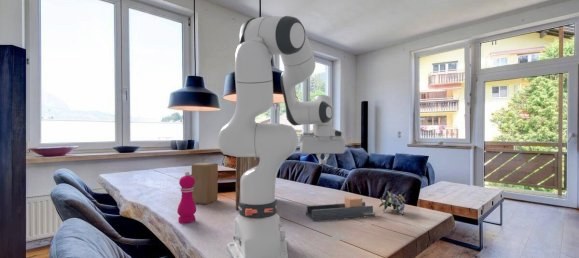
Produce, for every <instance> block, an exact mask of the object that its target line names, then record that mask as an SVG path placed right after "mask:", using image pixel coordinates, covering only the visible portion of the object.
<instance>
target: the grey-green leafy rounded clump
mask: <svg viewBox="0 0 579 258" xmlns="http://www.w3.org/2000/svg"><path fill="white" fill-rule="evenodd" d="M387 194H388V196H386V198H385V201H383V200H382V199H383V198H382V197H380V198H379V200H380V202H381V204H379V206H378V207H379V208H381V207H382V206H383V209H382V210H383V211H384V212H385V210H387V208H388V207H390V208H391V207H392V208H393V209H394V210H396V212H397V213H398V215H399V216H401V214H404V211H405V203H406V202H407V201H406V199H405V198H404V197H403V195H402V194H400V193H399V194H398V195H396V194H394V193H393V192H390V191H388V190H387Z"/></svg>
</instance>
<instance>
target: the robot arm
mask: <svg viewBox="0 0 579 258" xmlns="http://www.w3.org/2000/svg"><path fill="white" fill-rule="evenodd" d="M278 55H279V56H280V58H281V61H282V64H283V67H284V69H283V71H282V72H281V75H280V86H281V91H282V97H283V101H284V105H285V117H286V119H287V121H288V122H289V123H290V124H291V125H288V124H284V123H279V122H273V123H270V122H269V123H267V122H264V123H263V122H261V123H259V122H256V118H257V117H259V116H260V115H263V114H264V113H267V112H268V111H269V110H271V108H272V107H273V105H274V82H273V81H274V80H273V68H272V62H271V61H272V58H273V57H274V56H278ZM234 58H235V61H234V80H235V82H234V83H235V93H236V94H235V95H236V98H235V99H236V100H235V101H236V102H235V103H236V106H235V110H234V113H233V115H232V117H231V119H230V120H229V121H228V122H227V123H226V124H224V125H223V127H222V128H221V129H220V131H219V133H218V135H217V146H218V148H219V150H220V152H221V153H222V154H223V155H227V156H231V157H235V158H236V157H258V158H260V162H259V164H258V165H257V166H256V167H253V168H251V169H249V170H248V171H246V172H245V173H244V174H243V175H242V177H241V180H240V201H239V206H238V208H239V209H238V215H237V216H236V217H235V218H234V220H233V241H230V242H228V243H227V245H226V248H227V249H228V252H229V254H230V255H231V258H289V255H288V247H287V246H288V244H287V238H286V230H281V229H282V228H283V223H282V222H280V217H281V216H280V215H279V214H278V213H277V200H276V198H275V197H276V183H277V182H276V180H277V174H278V173H279V169H280V168H281V166H282V165H283V163H284V162H285V161H286V160H288V158H290V157H291V156H292V155H293V154H294V153H295V151H296V150H297V148H298V145H299V141H300V146H299V152H300V153H301V154H303V155H304V154H305V155H308V154H310V155H313V154H315V155H316V157H317V160H318V164H319V165H326V164H328V163H327V160H328V159H329V157H330V154H332V155H333V154H344V153H346V141H345V138H344V131H342V130H338V129H335V128H334V125H333V117H334V113H333V112H334V111H333V102H332V97H331V96H328V95H325V94H319V95H316V96H315V97H314V99H313V100H310V101H299V100H297V96H296V91H295V87H296V86H298V85H300V84H301V83H304V82H305V81H307V80H308V79H309V78H310V77H312V75H313V74H314V71H315V69H316V60H315V54H314V51H313V49H312V46H311V43H310V41H309V37H308V36H307V34H306V29H305V26H304V25H303V23H302V22H301V20H299V18H298V17H294V16H291V15H285V16H276V15H275V16H272V15H267V16H260V17H252V18H249V19H247V20H245V21H244V22H242V25H241V27H240V30H239V44H238V45H237V48H236V50H235V56H234ZM301 125H304V126H305V125H312V132H305V131H304V132H303V133H301V134H300V136H298V133H297V131H296V129H295V128H294V127H293V126H295V127H297V126H301ZM298 137H299V138H298ZM322 154H323V155H324V159H322V158H321V156H322ZM280 228H281V229H280Z"/></svg>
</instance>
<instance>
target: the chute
mask: <svg viewBox="0 0 579 258" xmlns="http://www.w3.org/2000/svg"><path fill="white" fill-rule="evenodd" d="M375 214H376V213H375V212H374V205H366V202H365V201H362V206H360V207H347V208H345V202H343V203H333V204H332V203H331V204H315V205H307V206H306V212H305V215H306V216H308V218H310V220H311V221H313V222H322V221H323V222H324V221H333V220H334V221H336V219H337V220H345V219H344V218H349V219H355V218H354V217H360V218H365V217H364V216H372V217H375V216H374V215H375Z"/></svg>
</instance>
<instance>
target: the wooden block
mask: <svg viewBox="0 0 579 258" xmlns="http://www.w3.org/2000/svg"><path fill="white" fill-rule="evenodd" d="M190 176H192V177H194V179H195V184H194V185H193V187H194V188H193V190H194V191H193V192H192V196H193V200H194V203H195V204H198V205H200V204H201V205H208V204H210V203H213V202H215V201H217V200H218V197H219V196H218V195H219V194H218V189H219V188H218V187H219V185H218V183H219V181H218V180H219V179H218V178H219V177H218V176H219V164H218V163H217V162H197V163H193V164H191V175H190Z"/></svg>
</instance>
